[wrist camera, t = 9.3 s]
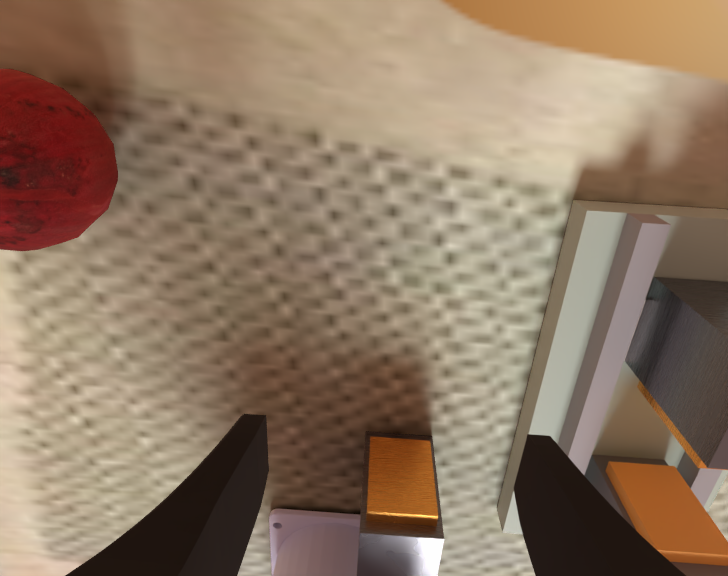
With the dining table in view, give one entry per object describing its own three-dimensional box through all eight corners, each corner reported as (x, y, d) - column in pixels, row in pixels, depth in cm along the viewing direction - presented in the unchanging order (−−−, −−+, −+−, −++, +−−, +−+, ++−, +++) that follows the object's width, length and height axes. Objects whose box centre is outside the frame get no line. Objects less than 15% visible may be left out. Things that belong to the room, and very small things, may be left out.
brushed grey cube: (701, 377, 21) (809, 489, 16) (620, 372, 21) (700, 481, 16) (743, 282, 19) (885, 373, 13) (654, 276, 19) (759, 364, 14)
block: (424, 490, 27) (433, 598, 22) (362, 485, 27) (355, 592, 22) (433, 427, 25) (446, 529, 20) (366, 422, 25) (360, 523, 20)
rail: (674, 522, 27) (769, 677, 20) (496, 509, 27) (532, 658, 20) (824, 215, 19) (1061, 301, 12) (573, 199, 19) (672, 276, 13)
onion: (141, 70, 18) (-24, 79, 11) (162, 217, 21) (40, 304, 13) (-11, 62, 18) (-272, 66, 11) (29, 209, 21) (-162, 291, 13)
